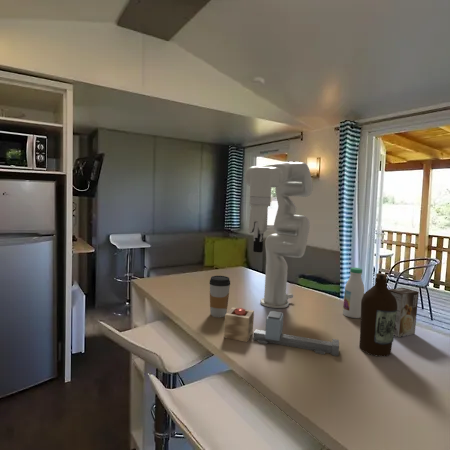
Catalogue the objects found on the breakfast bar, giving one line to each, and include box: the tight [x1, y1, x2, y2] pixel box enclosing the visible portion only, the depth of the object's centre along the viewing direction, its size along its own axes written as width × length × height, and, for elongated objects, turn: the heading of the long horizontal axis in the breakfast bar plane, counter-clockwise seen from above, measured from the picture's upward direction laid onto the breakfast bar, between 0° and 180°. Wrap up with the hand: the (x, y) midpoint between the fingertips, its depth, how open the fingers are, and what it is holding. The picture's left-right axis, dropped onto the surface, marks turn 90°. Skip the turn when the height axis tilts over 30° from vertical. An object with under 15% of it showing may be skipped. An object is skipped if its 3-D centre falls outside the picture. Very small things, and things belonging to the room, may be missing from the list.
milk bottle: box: [342, 267, 365, 319], centre depth 142 cm, size 8×8×20 cm
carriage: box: [265, 310, 284, 341], centre depth 113 cm, size 4×7×8 cm, turn 162°
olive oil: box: [359, 272, 397, 357], centre depth 110 cm, size 11×11×25 cm
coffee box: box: [388, 287, 419, 338], centre depth 126 cm, size 9×6×16 cm
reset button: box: [235, 307, 245, 316], centre depth 117 cm, size 4×4×5 cm
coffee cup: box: [209, 275, 231, 318], centre depth 136 cm, size 8×8×15 cm
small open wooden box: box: [223, 307, 255, 343], centre depth 117 cm, size 8×8×8 cm
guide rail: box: [252, 328, 340, 357], centre depth 112 cm, size 27×6×3 cm, turn 72°
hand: (258, 251), depth 125 cm, fingers closed
